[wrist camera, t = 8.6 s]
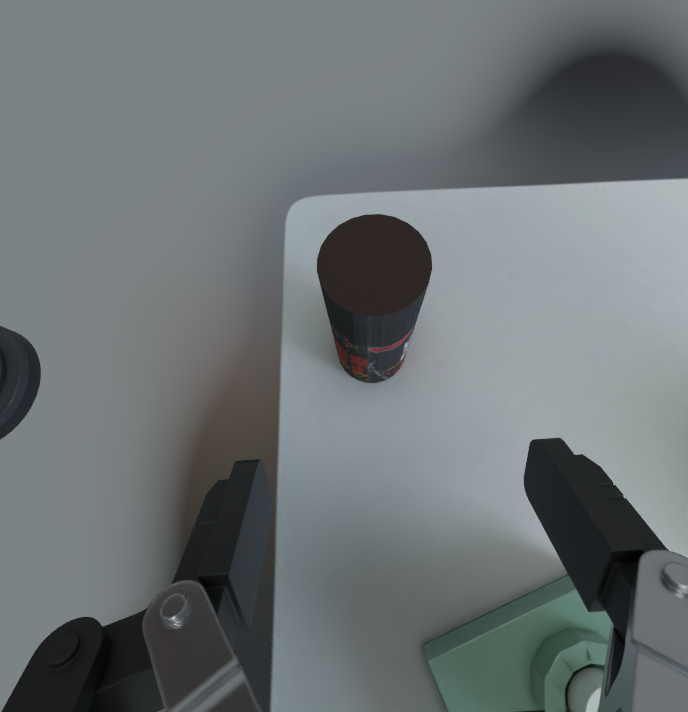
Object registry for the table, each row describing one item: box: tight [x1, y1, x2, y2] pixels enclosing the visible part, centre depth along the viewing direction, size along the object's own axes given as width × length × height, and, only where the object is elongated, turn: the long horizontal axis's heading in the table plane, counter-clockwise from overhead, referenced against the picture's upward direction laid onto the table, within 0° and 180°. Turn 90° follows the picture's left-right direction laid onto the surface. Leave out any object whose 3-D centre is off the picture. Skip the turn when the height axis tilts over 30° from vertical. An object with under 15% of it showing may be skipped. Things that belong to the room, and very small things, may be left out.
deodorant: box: [317, 214, 432, 383], centre depth 27 cm, size 6×6×15 cm
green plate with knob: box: [423, 575, 612, 712], centre depth 25 cm, size 13×10×4 cm
